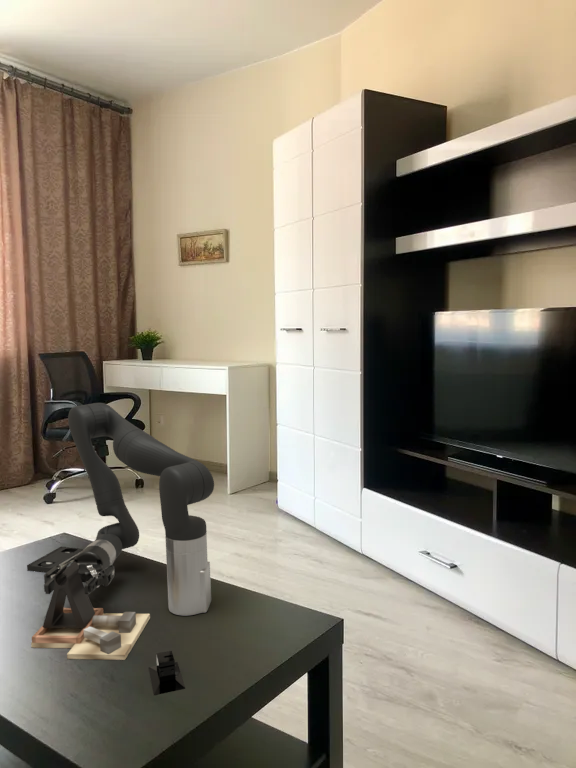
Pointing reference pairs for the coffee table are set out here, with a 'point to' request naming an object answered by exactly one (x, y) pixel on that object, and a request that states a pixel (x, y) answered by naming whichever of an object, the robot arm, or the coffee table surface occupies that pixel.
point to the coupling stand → (95, 636)
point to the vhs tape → (54, 559)
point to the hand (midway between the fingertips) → (66, 589)
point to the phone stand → (78, 600)
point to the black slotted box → (166, 674)
